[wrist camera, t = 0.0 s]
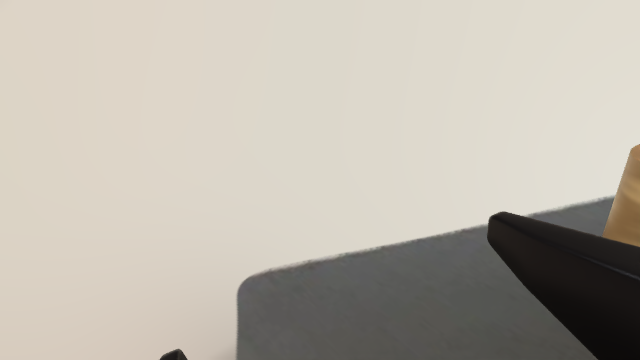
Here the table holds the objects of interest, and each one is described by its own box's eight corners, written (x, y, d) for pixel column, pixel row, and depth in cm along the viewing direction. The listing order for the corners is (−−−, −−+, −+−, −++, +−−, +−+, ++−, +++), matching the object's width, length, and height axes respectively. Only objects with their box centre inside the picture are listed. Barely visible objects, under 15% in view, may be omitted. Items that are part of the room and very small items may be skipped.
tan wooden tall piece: (661, 332, 23) (758, 159, 16) (611, 362, 22) (691, 191, 15) (594, 285, 26) (649, 127, 20) (548, 309, 26) (589, 151, 19)
